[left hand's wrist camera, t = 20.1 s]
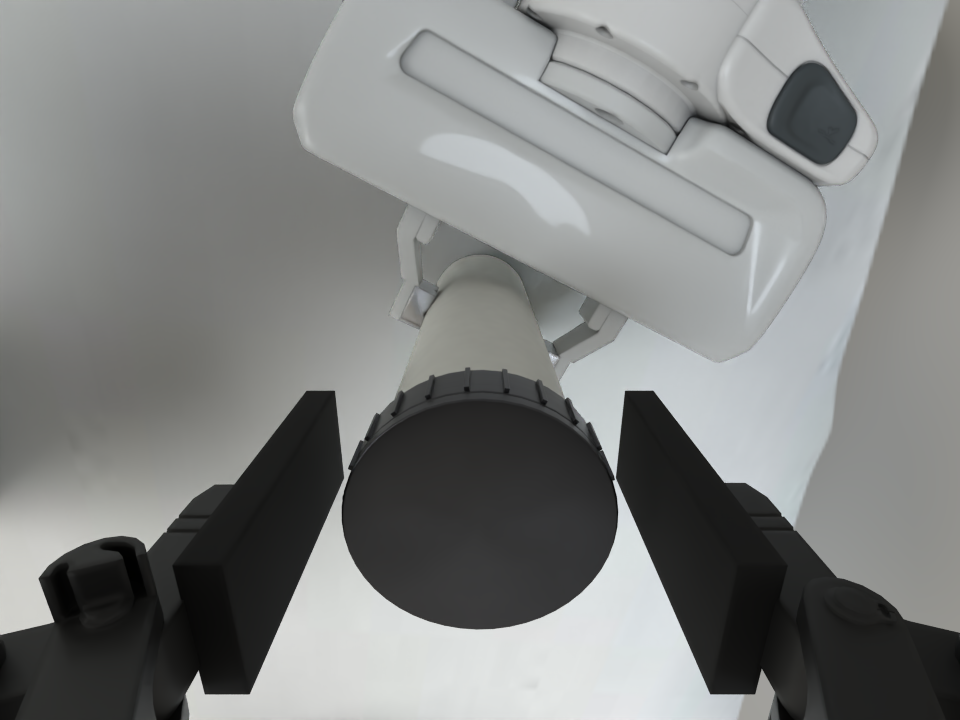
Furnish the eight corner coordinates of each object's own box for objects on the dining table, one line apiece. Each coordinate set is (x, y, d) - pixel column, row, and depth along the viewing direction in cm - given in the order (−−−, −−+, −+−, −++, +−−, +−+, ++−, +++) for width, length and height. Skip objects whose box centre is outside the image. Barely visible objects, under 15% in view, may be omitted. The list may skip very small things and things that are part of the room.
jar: (422, 267, 28) (331, 429, 11) (514, 243, 28) (569, 372, 10) (448, 353, 30) (404, 610, 13) (534, 331, 30) (612, 568, 12)
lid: (643, 523, 13) (665, 570, 11) (435, 612, 14) (429, 666, 12) (536, 319, 11) (545, 343, 9) (305, 438, 12) (280, 477, 10)
